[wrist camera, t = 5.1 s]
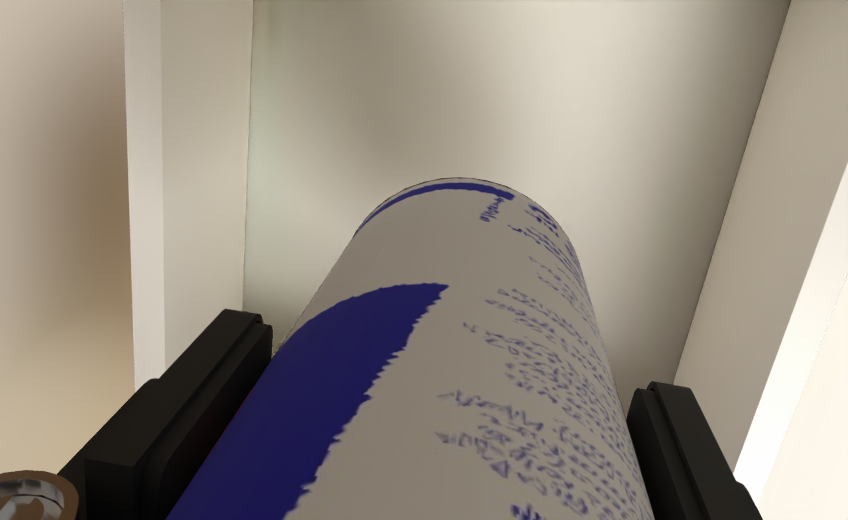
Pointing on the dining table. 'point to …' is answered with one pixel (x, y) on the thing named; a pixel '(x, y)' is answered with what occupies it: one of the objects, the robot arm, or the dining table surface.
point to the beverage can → (435, 381)
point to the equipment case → (724, 284)
